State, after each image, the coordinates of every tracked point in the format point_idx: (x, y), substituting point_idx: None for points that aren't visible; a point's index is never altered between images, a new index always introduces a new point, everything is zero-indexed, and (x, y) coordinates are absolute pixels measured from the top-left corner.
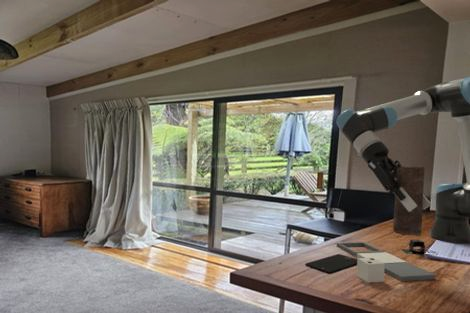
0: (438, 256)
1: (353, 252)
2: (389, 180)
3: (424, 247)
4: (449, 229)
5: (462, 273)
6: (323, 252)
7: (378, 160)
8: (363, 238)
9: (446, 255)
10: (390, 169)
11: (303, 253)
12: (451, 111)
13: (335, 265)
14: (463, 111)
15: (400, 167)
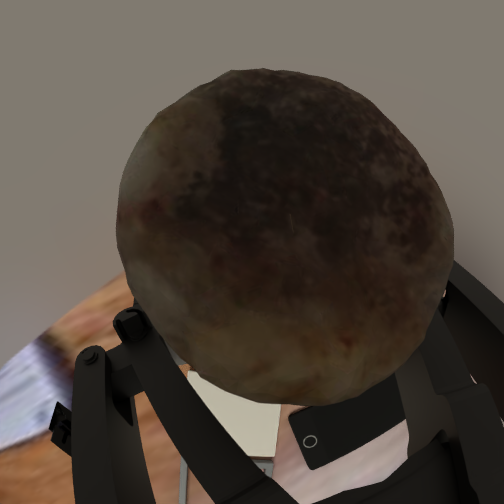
0: (55, 389)
1: (272, 469)
2: (458, 270)
3: (61, 421)
4: None
5: (107, 288)
6: (331, 489)
7: None
8: None
9: (35, 385)
10: (449, 393)
11: (380, 479)
12: None
13: (374, 392)
14: None
15: (354, 379)
